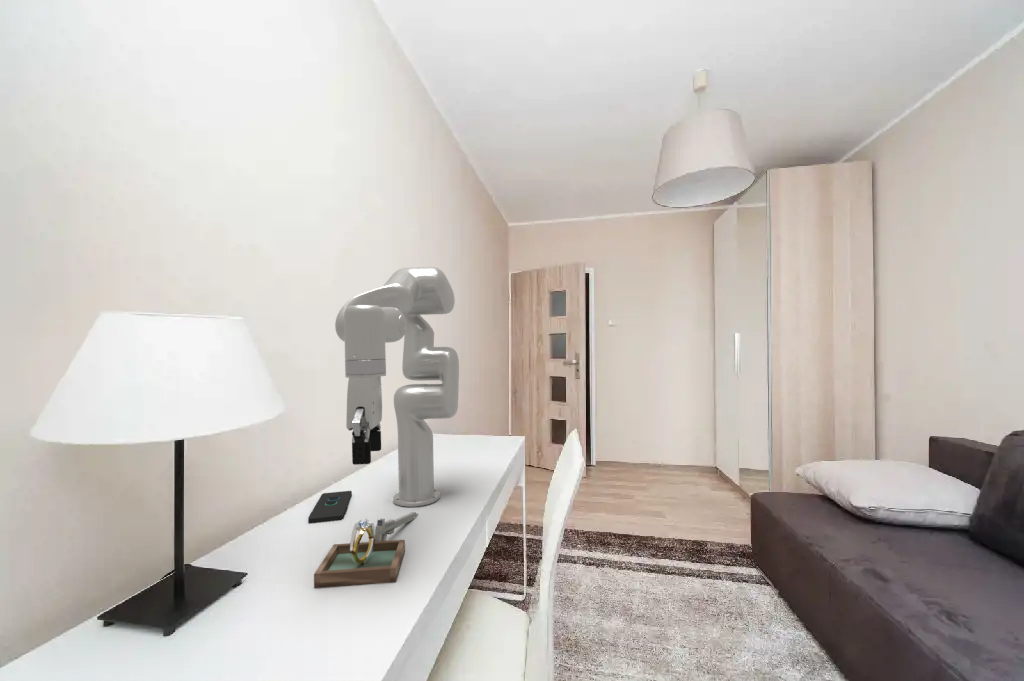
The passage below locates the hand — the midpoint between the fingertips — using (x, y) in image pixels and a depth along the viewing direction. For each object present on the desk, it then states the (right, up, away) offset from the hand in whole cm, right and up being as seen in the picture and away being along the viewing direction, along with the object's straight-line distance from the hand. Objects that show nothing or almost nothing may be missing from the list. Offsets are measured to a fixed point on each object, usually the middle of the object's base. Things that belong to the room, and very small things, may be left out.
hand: (367, 457), depth 87 cm
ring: (0, -20, -2) cm, 20 cm away
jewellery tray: (0, -21, -2) cm, 21 cm away
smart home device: (-20, -22, +31) cm, 43 cm away
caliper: (+2, -21, +15) cm, 26 cm away
